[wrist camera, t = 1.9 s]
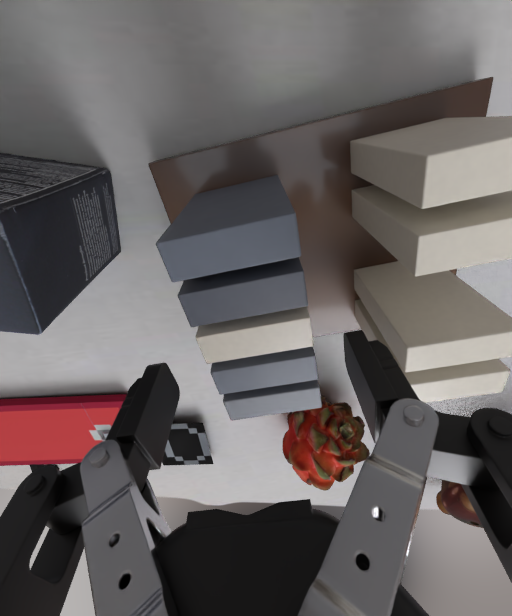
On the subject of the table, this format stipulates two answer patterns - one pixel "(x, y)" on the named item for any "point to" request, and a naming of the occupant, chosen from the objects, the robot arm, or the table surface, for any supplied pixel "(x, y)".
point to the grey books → (244, 288)
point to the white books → (437, 250)
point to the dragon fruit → (324, 443)
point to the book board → (317, 187)
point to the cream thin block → (255, 335)
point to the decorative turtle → (457, 503)
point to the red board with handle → (79, 431)
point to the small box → (51, 237)
